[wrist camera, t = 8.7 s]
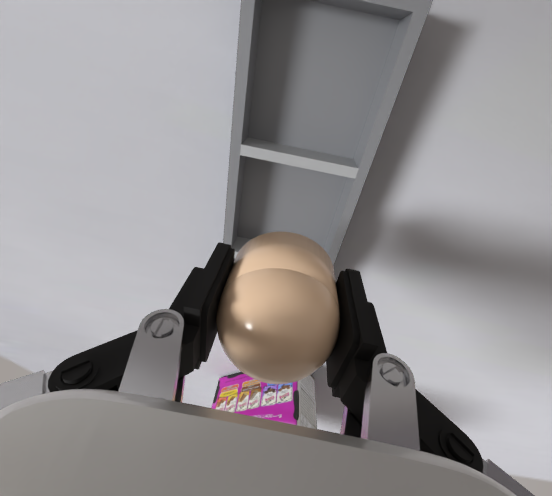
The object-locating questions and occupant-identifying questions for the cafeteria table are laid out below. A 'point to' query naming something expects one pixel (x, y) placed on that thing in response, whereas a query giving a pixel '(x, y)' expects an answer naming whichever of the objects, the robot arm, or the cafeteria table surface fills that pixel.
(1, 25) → the cafeteria table surface
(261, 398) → the candy bar box
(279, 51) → the tray
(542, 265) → the cafeteria table surface
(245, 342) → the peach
